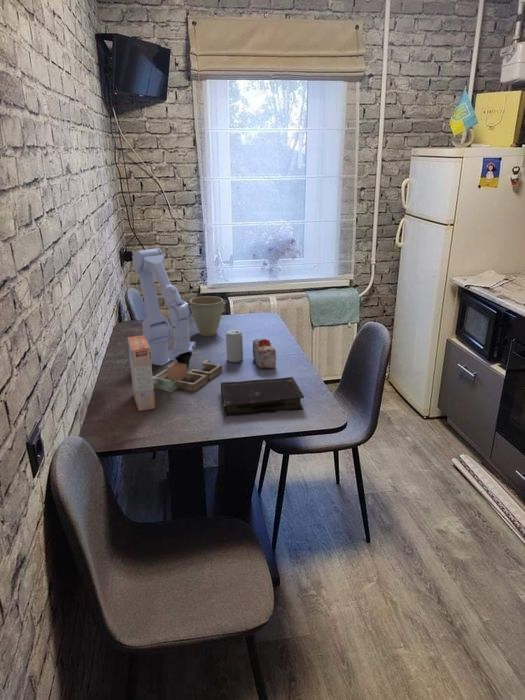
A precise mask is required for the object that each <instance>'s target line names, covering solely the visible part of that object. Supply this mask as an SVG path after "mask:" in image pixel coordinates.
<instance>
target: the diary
mask: <svg viewBox="0 0 525 700" xmlns="http://www.w3.org/2000/svg"><path fill="white" fill-rule="evenodd" d="M220 393H221V394H222V398H223V404H224V405H225V406H223V411H224V412H223V413H224V416H225V417H239V416H250V415H259V414H271V413H272V414H273V413H275V414H276V413H279V412H295V411H297V412H298V411H305V409H304V407H303V405H302V403H301V401H302V400H301V399H305V395H304V394H303V392H302V390H301V388H300V387H299V385H298V384H297V381H296V380H295V379H294V377H293V376H290V377H279V378H267V379H264V378H263V379H251V380H242V381H223V382H220Z"/></svg>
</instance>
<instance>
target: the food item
mask: <svg viewBox="0 0 525 700" xmlns="http://www.w3.org/2000/svg"><path fill="white" fill-rule="evenodd" d="M252 357H253V359H254V360H255V365H256V366H258V367H259V369H263V370H264V369H266V370H267V369H275V368H276V364H277V351H276V349H275V348H274V346H273V345H272V343H271V341H270V339H267V338H257V339H254V340H252Z"/></svg>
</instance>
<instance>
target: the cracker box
mask: <svg viewBox="0 0 525 700" xmlns="http://www.w3.org/2000/svg"><path fill="white" fill-rule="evenodd" d="M127 347H128V354H129V355H128V356H129V362H130V363H129V364H130V372H131V373H130V375H131V384H132V391H133V396H134V401H135V405H136V407H137V408H136V409H137V412H143V411H150V410H155V409H156V399H155V390H154V389H155V388H154V387H153V377H154V375H153V367H152V366H153V364H151V353H150V347H149V345H148V343H147V341H146V338H145V336H144V335H143V334H142V335H134V336H128V337H127Z"/></svg>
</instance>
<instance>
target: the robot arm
mask: <svg viewBox="0 0 525 700" xmlns="http://www.w3.org/2000/svg"><path fill="white" fill-rule="evenodd" d="M132 262H133V267H134V272H135V274H137V275H138V278H139V279H138V280H139V284H140V287H141V291H142V292H141V294H142V297H143V302H144V306H145V309H146V311H145V312H146V316H147V317H145V320H143V322H142V323H141V326H142V335H144V336H145V338H146V341H147V343H148V345H149V347H150V353H151V365H156V366H160V367H161V366H164V365H166V364H168V363H169V362H172V361H174V360H175V361H176V362H179V363H184V364H187V371H188V370H189V369H188V368H189V364H190V363H189V360H190V361H191V358H192V355H193V349H194V348H197V347H196V346H197V345H196V341H191V339H190V325H189V319H190V318H191V317H192V309H191V306H190V305H189V304H188V302H186V301H185V300H183V298H182V297H181V295H180V293H179V291H178V289H177V287H176V286H175V285H172V284H171V281H170V279H169V276H168V274H167V271H166V269H165V267H164V264H165V256H164V254H163V251H162V250H161V248H159V247H155V248H150V249H142V250H135V251H134V252H133V255H132ZM154 278H155V280H156V281H157V283H158V285H159V286H160V288H161V289H162V290H161V292H160V294H161V297H162V299H163V301H164V303H165V304H166V307H167V309H168V312H167V315H168V318H169V320H170V323H169V321H168V318H167V317H166V316H164V315H162V314H161V308H160V305H159V303H160V302H159V300H158V295H157V290H156V285H155V280H154ZM170 324H171V325H170ZM171 326H172V327H171ZM172 332H173V333H172ZM172 334H173V344H174V345H173V346H174V347H173V349H172V350H171V351H170V352H169V348H168V347H169V345H168V340H169V337H170V336H171V335H172Z"/></svg>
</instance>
